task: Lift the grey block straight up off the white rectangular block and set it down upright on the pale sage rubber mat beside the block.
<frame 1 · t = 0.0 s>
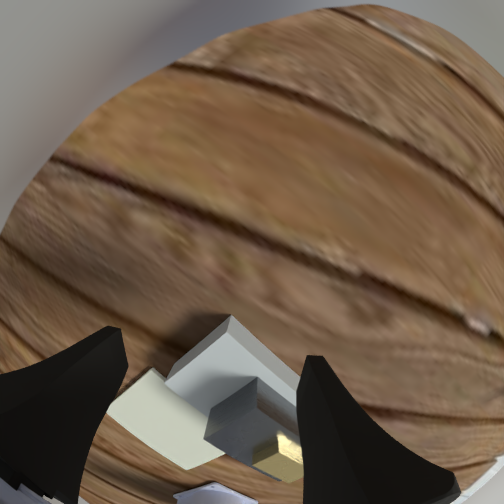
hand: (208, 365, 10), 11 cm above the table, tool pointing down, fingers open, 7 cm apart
white rectangular block: (268, 398, 22), on the table
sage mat: (171, 426, 23), on the table
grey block: (269, 420, 19), point 3 cm above the table, touching white rectangular block
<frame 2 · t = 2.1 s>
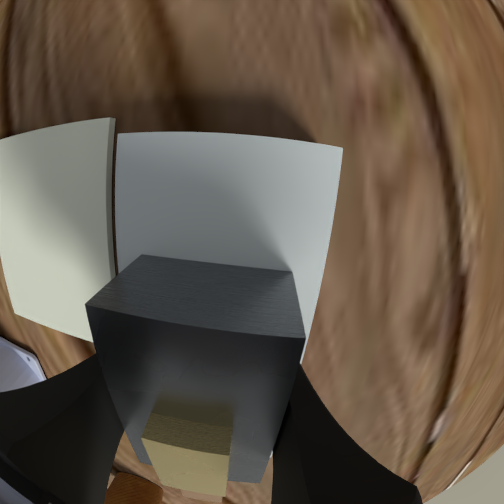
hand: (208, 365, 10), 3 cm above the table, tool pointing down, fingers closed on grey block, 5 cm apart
disposable coffee cup: (140, 481, 23), on the table
white rectangular block: (221, 317, 13), on the table
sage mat: (44, 237, 12), on the table
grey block: (210, 358, 10), point 3 cm above the table, touching gripper, white rectangular block
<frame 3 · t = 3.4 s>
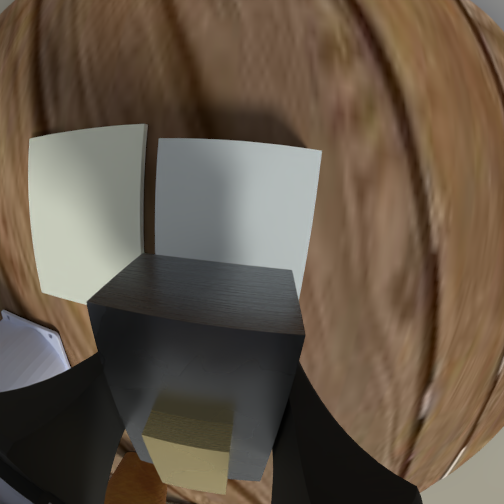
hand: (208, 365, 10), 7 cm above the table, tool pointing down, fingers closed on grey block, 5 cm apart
disposable coffee cup: (147, 462, 26), on the table
white rectangular block: (231, 285, 16), on the table
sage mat: (79, 221, 15), on the table
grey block: (210, 356, 10), point 6 cm above the table, touching gripper
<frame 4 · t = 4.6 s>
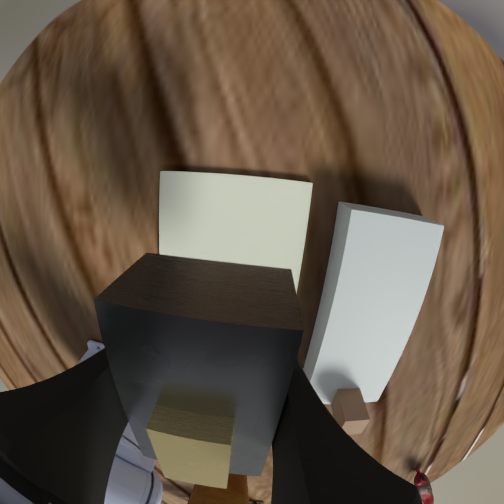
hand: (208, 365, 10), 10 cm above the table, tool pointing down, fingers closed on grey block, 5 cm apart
disposable coffee cup: (224, 465, 30), on the table
white rectangular block: (360, 309, 20), on the table
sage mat: (228, 260, 19), on the table
decorative bird figurine: (415, 466, 32), on the table
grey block: (212, 353, 10), point 10 cm above the table, touching gripper
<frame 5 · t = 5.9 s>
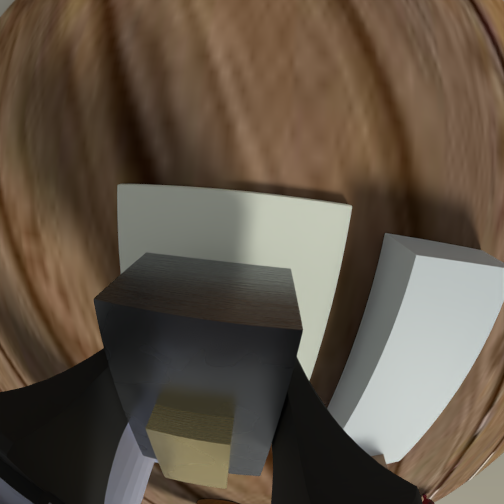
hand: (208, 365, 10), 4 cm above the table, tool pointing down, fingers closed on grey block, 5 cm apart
white rectangular block: (394, 367, 14), on the table
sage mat: (221, 315, 13), on the table
decorative bird figurine: (423, 492, 25), on the table
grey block: (212, 353, 10), point 3 cm above the table, touching gripper
when the fingers open (2 cm above the table, at t = 6.8 s): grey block stays where it is, resting on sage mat.
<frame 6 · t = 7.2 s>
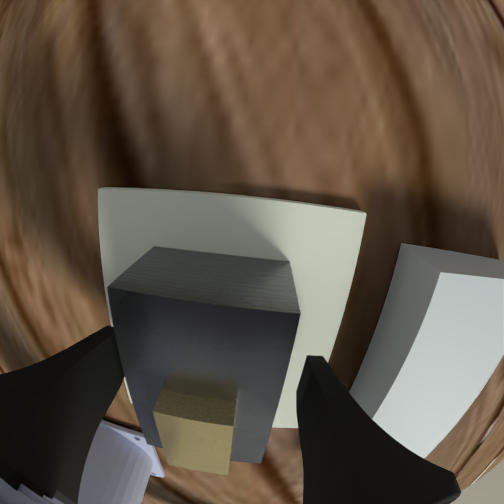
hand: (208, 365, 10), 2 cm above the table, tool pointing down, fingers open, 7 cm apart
white rectangular block: (404, 385, 12), on the table
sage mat: (216, 334, 11), on the table
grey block: (215, 343, 11), resting on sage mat
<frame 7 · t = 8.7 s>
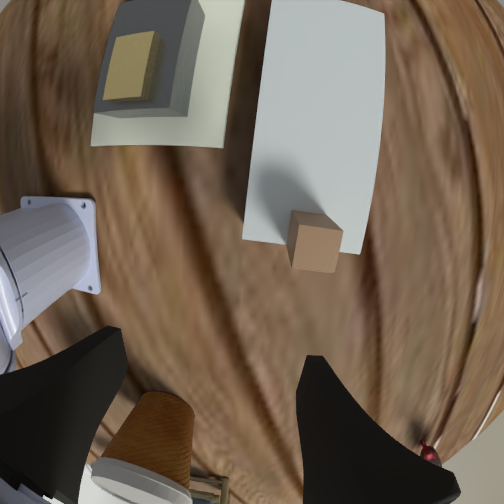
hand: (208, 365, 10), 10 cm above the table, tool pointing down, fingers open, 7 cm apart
disposable coffee cup: (167, 407, 25), on the table
swing bench: (187, 479, 33), on the table
white rectangular block: (314, 115, 16), on the table
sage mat: (163, 64, 15), on the table
decorative bird figurine: (421, 438, 27), on the table
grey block: (160, 63, 14), resting on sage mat
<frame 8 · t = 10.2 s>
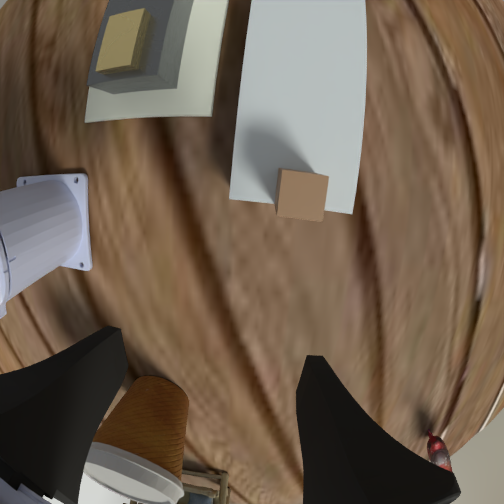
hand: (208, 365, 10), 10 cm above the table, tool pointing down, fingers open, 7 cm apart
disposable coffee cup: (161, 394, 25), on the table
swing bench: (186, 474, 33), on the table
white rectangular block: (300, 82, 15), on the table
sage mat: (154, 43, 14), on the table
decorative bird figurine: (427, 428, 27), on the table
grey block: (152, 42, 14), resting on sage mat
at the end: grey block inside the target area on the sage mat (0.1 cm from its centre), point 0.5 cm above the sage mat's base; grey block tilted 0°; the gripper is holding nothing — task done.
